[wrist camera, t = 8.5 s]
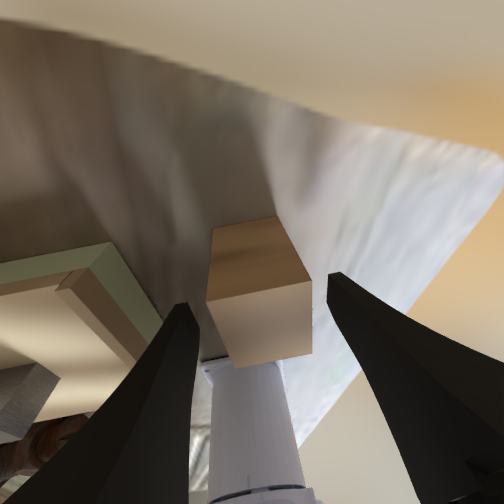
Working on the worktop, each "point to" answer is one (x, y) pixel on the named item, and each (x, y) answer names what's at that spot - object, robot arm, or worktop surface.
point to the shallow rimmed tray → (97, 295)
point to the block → (259, 293)
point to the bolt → (37, 446)
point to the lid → (49, 358)
